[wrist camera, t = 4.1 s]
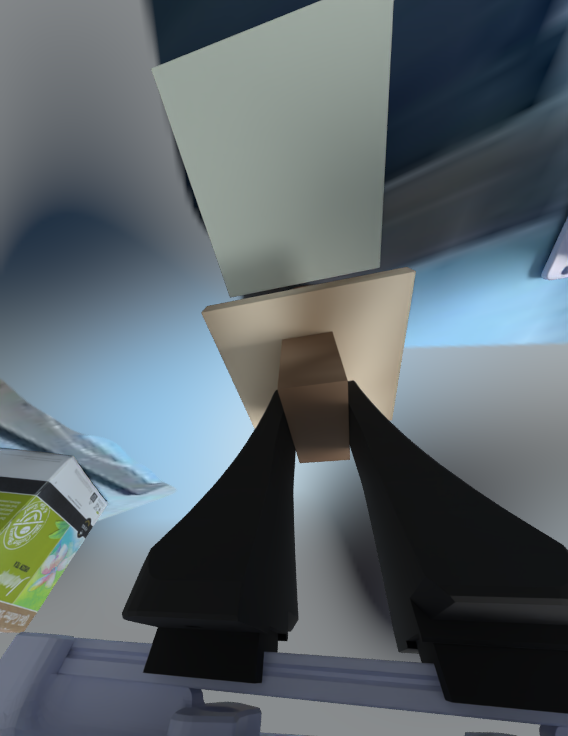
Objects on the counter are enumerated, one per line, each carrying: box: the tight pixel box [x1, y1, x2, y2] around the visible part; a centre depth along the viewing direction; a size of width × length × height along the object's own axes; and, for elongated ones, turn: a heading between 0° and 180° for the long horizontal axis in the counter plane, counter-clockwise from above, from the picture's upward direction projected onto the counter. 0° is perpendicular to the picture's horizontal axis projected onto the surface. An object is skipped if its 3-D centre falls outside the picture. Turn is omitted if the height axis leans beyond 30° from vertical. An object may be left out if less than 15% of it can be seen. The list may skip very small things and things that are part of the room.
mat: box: [151, 0, 393, 297], centre depth 11 cm, size 10×10×1 cm
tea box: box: [0, 449, 108, 633], centre depth 27 cm, size 15×10×15 cm, turn 172°
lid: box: [202, 267, 416, 463], centre depth 10 cm, size 9×9×4 cm
